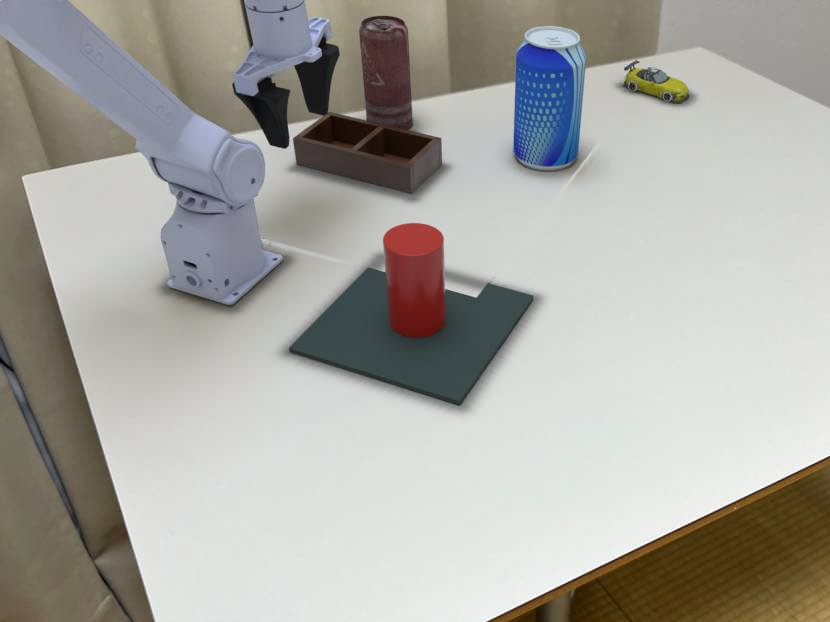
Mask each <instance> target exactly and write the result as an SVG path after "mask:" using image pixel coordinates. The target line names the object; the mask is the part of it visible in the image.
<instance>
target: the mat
mask: <svg viewBox="0 0 830 622" xmlns="http://www.w3.org/2000/svg"><path fill="white" fill-rule="evenodd" d="M533 301H534V295H533V294H529V293H525V292H523V291H522V292H521V291H519V290H515V289H511V288H507V287H504V286H500V285H497V284H493V283H490V282H489V283H488V282H487V283H486V285H485V286H484V287H483V288H482V290H481V291H480V292H479V294H478V295H477V296H473V295H468V294H465V293H462V292H458V291H454V290H451V289H447V288H445V302H446V323H445V325H444V327H443V328H442V329H441V330H440V331H439V332H437V333H435V334H433V335H430V336H427V337H420V338H414V337H407V336H403V335H401V334H399V333H397V332H396V331H394V330H393V329H392V327H391V325H390V322H389V309H388V297H387V285H386V273H385V271H382V270H379V269H376V268H372V267H367V268H366V269H365V270H363V272H362V273H361V274H360V275H359V276H358V277H356V279H354V281H353V282H352V283H351V284H350V285H349V286H348V287H347V288H346V289H345V290H344V291H343V292H342V293H341V294H340V295H339V296H338V297H336V299H335V300H334V301H333V302H332V303H331V304H330V305H329V306H328V307H327V308H326V309H325V310H324V311H323V312H322V313H321V314H320V315H319V316H318V317H317V318H316V319H315V320H314V321H313V323H311V325H310V326H309V327H308V328H307V329H306V330H304V331H303V332H302V334H301V335H300V336H299V337H297V339H295V340H294V342H293V343H292V344H291V345H290V346H289V347H288V352H289V353H291V354H295V355H299V356H301V357H305V358H309V359H310V360H315V361H318V362H320V363H324V364H327V365H330V366H334V367H337V368H340V369H343V370H347V371H350V372H353V373H357V374H360V375H363V376H366V377H368V378H373V379H376V380H378V381H382V382H385V383H389V384H391V385H394V386H398V387H400V388H403V389H407V390H410V391H413V392H417V393H420V394H424V395H426V396H430V397H432V398H433V397H434V398H437V399H439V400H443V401H445V402H449V403H452V404H454V405H455V404H456V405H461V404H462V402H463V401H464V399H466V396H467V395H468V394H469V393H470V391H471V390H472V388H473V387H474V385H475V384H476V383H477V381H478V380H479V378H480V377H481V375H482V374H483V372H484V371H485V370H486V368H487V367H488V365H489V364H490V362H491V361H492V360H493V358H494V356H495V355H496V353H497V352H498V351H499V349H500V348H501V346H502V345H503V344H504V342H505V341H506V340H507V338H508V336H509V335H510V333H511V332H512V331H513V329H514V327H515V326H516V325H517V323H518V322H519V321H520V319H521V318H522V316H523V315H524V313H525V312H526V311H527V309H528V308H529V307H530V305H531V303H532V302H533Z"/></svg>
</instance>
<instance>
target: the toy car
mask: <svg viewBox="0 0 830 622" xmlns="http://www.w3.org/2000/svg"><path fill="white" fill-rule="evenodd" d="M637 64H641V63H640V61H639V60H637V59H635V60H634V61H633V62H630V63H629V64H627V65H626V66H624V68H623V71H625V72H626V71H628V72H627V74H626V75H625V80H624V83H623V86H624V87H626V88H628V90H629V91H630V92H636V91H638V92H642V93H645V94H648V95H651V96H655V97H658V98H660V99H662V100H663V101H664V102H667V103H669V102H672V103H674V104H680V103H683V102H684V101H686V100H687V99H688V98H690V96H691V95H690V94H689V91H690V90H689V88H688V86H687V84H686V83H685V82H684V81H682V80H680V79H679V78H675V77H672V76H669V75H668V74H667V73H666V72H664V71H663V70H662V69H658V68H656V67H652V66H651V67H650V66H649V67H647V68H637V67H635V65H637Z"/></svg>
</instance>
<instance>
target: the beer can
mask: <svg viewBox="0 0 830 622" xmlns="http://www.w3.org/2000/svg"><path fill="white" fill-rule="evenodd" d="M586 66H587V56H586V53H585V51H584V49H583V47H582V45H581V36H580V34H579V33H577V32H576V31H574V30H572V29H569V28H566V27H563V26H555V25H544V26H536V27H533V28H530V29H528V30H527V31H526V32H525V33H524V39H523V41H522V42H521V44H520V46H519V47H518V48H517V50H516V55H515V79H514V80H515V82H514V83H515V84H514V113H513V114H514V116H513V145H512V147H513V148H512V152H513V154H514V157H516V158H517V160H518V162H520V164H522V165H524V166H526V167H528V168H530V169H534V170H537V171H559V170H562V169H565V168H567V167H569V166H570V165H571V164H572V163H573V162H574V161H575V160H576V159H577V158H578V156H579V150H580V149H579V147H580V138H581V137H580V135H581V124H582V114H583V113H582V111H583V102H584V101H583V100H584V91H585V90H584V89H585V78H586Z"/></svg>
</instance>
